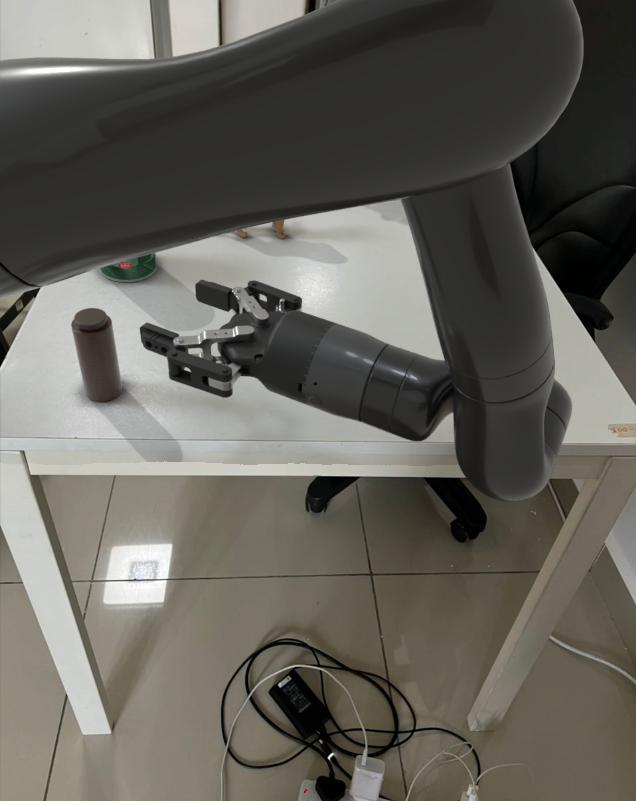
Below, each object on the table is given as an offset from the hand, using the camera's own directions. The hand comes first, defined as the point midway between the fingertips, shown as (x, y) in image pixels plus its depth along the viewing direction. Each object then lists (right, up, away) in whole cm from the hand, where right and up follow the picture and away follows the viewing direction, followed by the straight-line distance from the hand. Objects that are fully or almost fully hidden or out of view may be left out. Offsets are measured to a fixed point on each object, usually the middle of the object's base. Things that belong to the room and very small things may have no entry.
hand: (171, 310), depth 60 cm
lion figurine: (+5, +19, +44) cm, 48 cm away
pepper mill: (-10, -7, +12) cm, 18 cm away
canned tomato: (-13, +10, +32) cm, 36 cm away
